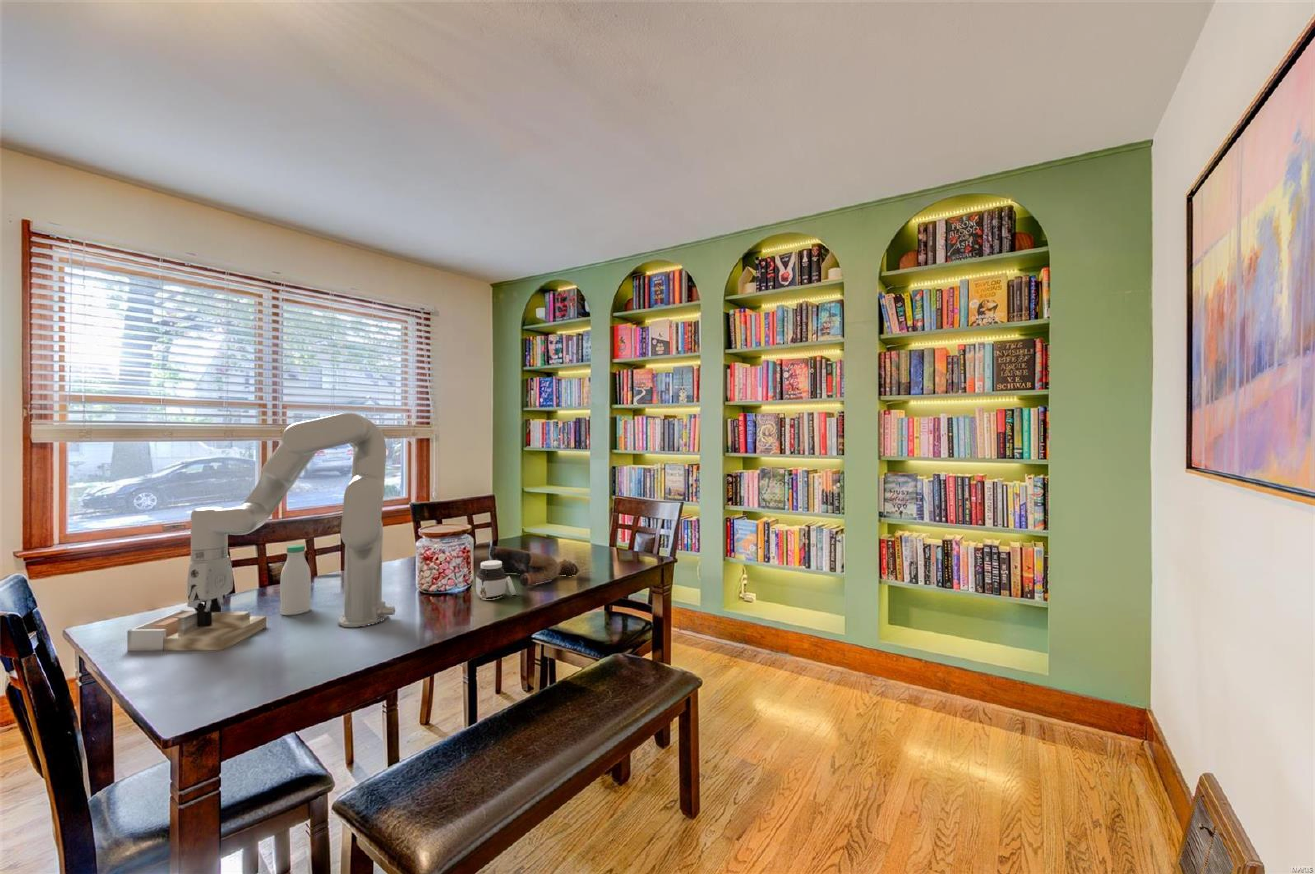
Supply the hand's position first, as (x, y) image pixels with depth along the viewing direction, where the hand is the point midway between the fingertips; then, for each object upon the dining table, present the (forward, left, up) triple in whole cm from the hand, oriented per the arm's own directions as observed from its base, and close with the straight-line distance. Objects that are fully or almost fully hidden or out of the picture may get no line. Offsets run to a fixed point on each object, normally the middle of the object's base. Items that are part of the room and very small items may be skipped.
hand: (209, 623), depth 142 cm
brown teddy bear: (-73, -60, -4) cm, 95 cm away
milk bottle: (-9, -21, -4) cm, 23 cm away
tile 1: (+7, +3, -1) cm, 7 cm away
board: (-2, 0, -4) cm, 4 cm away
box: (+9, 0, -4) cm, 10 cm away
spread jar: (-66, -35, -4) cm, 75 cm away
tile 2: (+7, -3, -1) cm, 7 cm away
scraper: (-4, 0, -1) cm, 4 cm away
